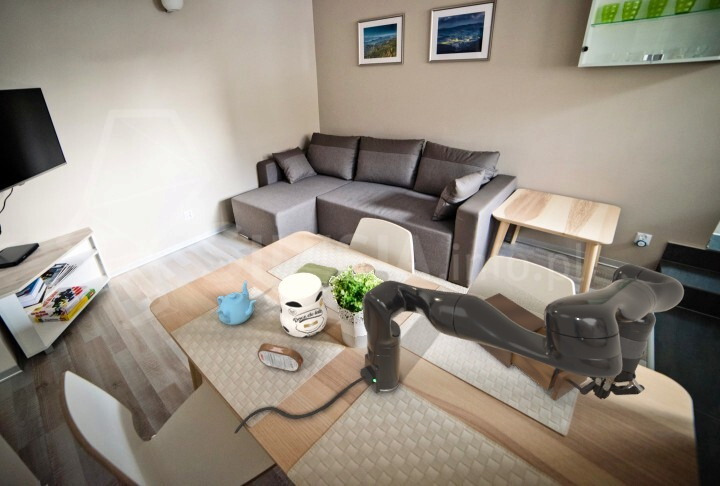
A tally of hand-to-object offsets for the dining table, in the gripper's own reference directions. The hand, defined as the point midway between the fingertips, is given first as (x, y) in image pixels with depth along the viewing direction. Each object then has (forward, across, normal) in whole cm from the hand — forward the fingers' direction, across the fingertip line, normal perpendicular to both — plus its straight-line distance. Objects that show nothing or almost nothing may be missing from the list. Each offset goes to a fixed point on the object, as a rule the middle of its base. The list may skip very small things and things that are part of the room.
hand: (599, 395), depth 82 cm
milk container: (+6, -66, -54) cm, 86 cm away
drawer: (+5, -11, 0) cm, 12 cm away
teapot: (+6, -83, -75) cm, 112 cm away
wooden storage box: (+6, -27, 0) cm, 28 cm away
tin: (+6, -52, -68) cm, 86 cm away
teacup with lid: (+6, -75, -22) cm, 79 cm away
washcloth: (+6, -92, -38) cm, 100 cm away
